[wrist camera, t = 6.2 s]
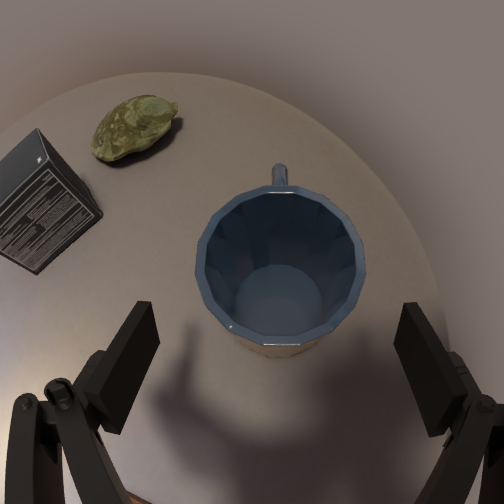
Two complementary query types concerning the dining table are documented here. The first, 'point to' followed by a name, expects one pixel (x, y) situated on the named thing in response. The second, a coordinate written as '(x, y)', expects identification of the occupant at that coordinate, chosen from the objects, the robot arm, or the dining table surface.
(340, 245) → the mug
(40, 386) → the dining table surface
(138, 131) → the seashell
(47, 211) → the small box
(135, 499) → the cork mat
